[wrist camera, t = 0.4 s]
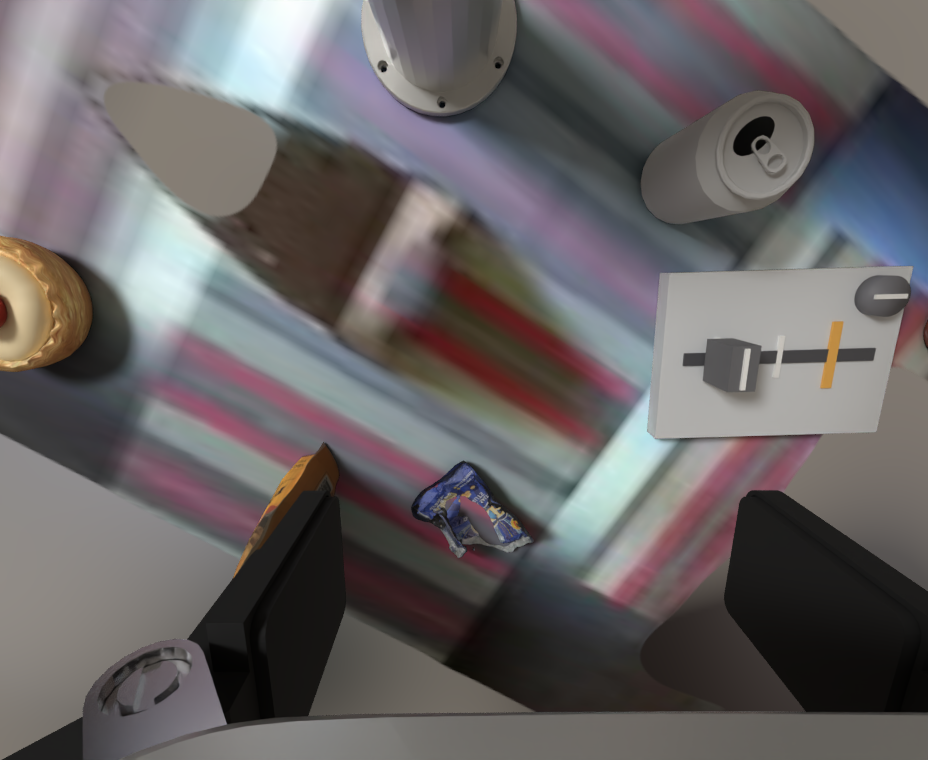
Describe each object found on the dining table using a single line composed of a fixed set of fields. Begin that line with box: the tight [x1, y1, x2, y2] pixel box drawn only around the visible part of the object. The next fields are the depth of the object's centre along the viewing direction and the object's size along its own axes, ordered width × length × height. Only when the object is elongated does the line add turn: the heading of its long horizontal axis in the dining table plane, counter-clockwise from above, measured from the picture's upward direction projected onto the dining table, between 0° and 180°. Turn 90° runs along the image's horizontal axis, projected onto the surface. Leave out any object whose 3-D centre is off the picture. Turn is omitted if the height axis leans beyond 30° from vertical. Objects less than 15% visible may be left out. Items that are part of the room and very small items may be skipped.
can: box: [641, 90, 814, 224], centre depth 34 cm, size 8×8×12 cm
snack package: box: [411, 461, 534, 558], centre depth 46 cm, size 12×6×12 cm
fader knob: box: [703, 338, 762, 392], centre depth 39 cm, size 4×2×4 cm, turn 1°
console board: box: [647, 266, 913, 439], centre depth 42 cm, size 16×22×4 cm
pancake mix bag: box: [233, 442, 340, 578], centre depth 34 cm, size 7×19×28 cm, turn 157°
